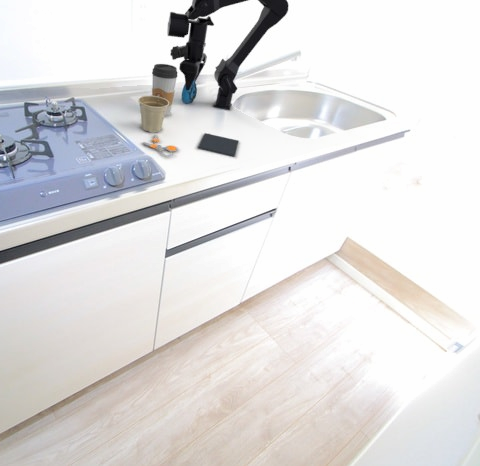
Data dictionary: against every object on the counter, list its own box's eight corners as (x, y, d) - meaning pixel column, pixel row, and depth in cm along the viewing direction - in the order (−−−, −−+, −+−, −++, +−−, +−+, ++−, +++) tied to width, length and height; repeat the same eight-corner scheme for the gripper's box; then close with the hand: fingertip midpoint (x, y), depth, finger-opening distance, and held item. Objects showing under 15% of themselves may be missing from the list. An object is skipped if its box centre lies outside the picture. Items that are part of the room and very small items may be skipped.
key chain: (183, 153, 93) (183, 150, 93) (163, 158, 89) (163, 155, 89) (156, 135, 100) (157, 132, 100) (136, 139, 96) (137, 137, 96)
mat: (204, 134, 105) (204, 133, 105) (238, 142, 104) (238, 140, 104) (197, 148, 97) (198, 146, 97) (234, 156, 96) (234, 155, 95)
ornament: (188, 107, 122) (192, 79, 116) (177, 104, 124) (180, 75, 117) (197, 102, 128) (202, 74, 122) (187, 98, 130) (191, 71, 123)
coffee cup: (145, 114, 112) (148, 66, 103) (155, 107, 119) (158, 61, 109) (167, 120, 111) (172, 72, 101) (176, 112, 117) (182, 67, 107)
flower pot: (172, 130, 105) (175, 103, 99) (151, 137, 99) (153, 109, 93) (151, 120, 109) (154, 93, 103) (130, 126, 103) (131, 98, 98)
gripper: (180, 31, 120) (175, 76, 130) (167, 39, 106) (162, 89, 116) (210, 36, 119) (203, 82, 129) (200, 45, 105) (193, 95, 115)
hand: (190, 86), depth 122 cm, fingers open, 9 cm apart
